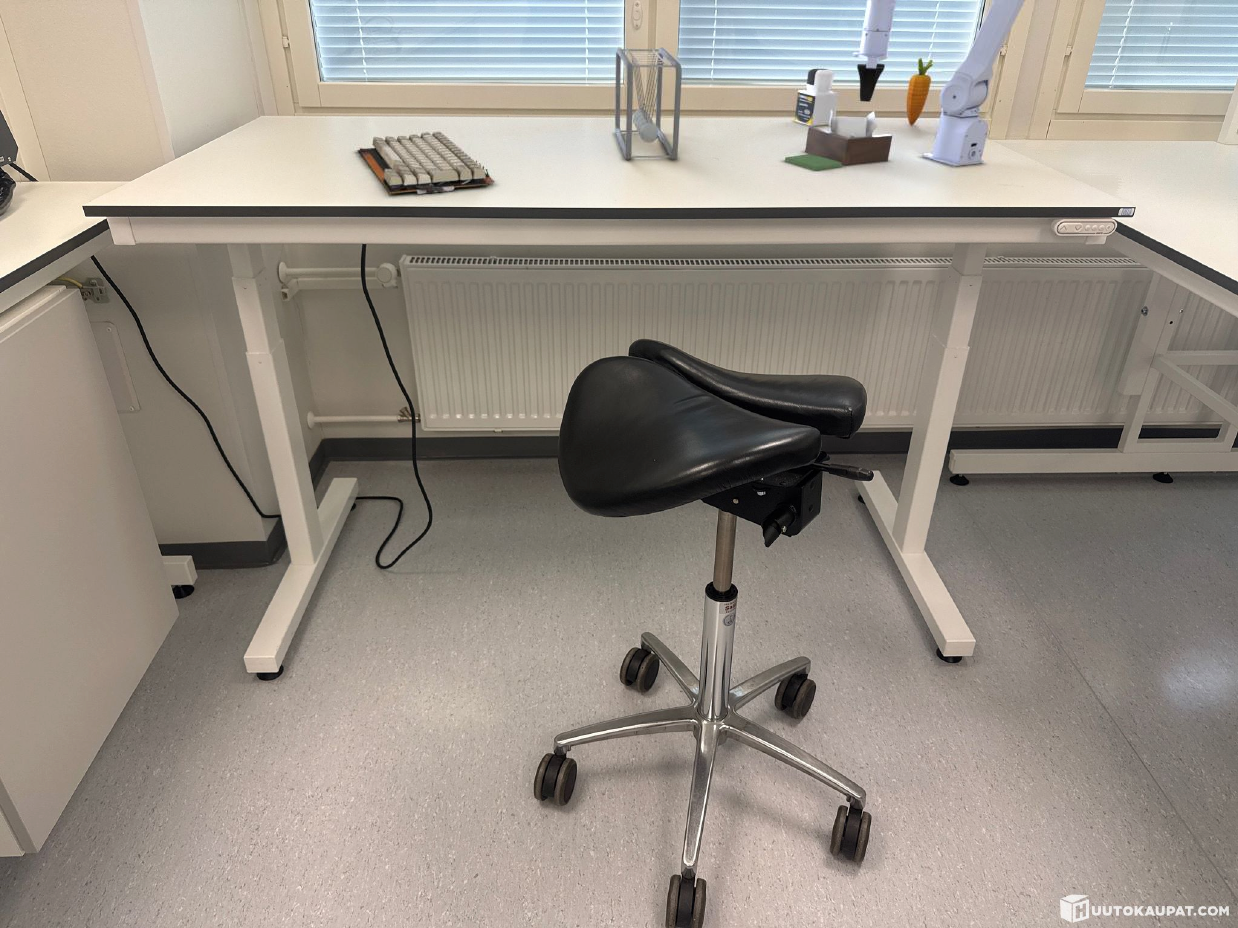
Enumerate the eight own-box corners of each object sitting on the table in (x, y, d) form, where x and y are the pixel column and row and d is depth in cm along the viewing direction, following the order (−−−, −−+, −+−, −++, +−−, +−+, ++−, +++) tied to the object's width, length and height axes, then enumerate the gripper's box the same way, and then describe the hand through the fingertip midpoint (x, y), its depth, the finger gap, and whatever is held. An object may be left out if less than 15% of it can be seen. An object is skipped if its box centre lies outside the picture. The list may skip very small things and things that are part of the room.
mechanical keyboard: (356, 151, 168) (354, 134, 166) (448, 145, 174) (447, 128, 173) (391, 199, 139) (388, 178, 137) (499, 189, 146) (498, 170, 144)
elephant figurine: (863, 149, 177) (870, 105, 172) (873, 162, 167) (881, 116, 162) (818, 148, 177) (824, 104, 173) (826, 160, 167) (832, 114, 162)
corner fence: (887, 161, 168) (892, 135, 165) (843, 165, 164) (847, 139, 161) (847, 148, 178) (851, 123, 175) (804, 152, 174) (808, 127, 171)
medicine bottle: (793, 121, 203) (800, 68, 196) (817, 119, 206) (824, 66, 199) (811, 126, 198) (818, 72, 191) (834, 124, 200) (842, 70, 194)
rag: (841, 166, 163) (842, 162, 163) (815, 171, 160) (816, 166, 160) (809, 157, 170) (810, 153, 169) (784, 161, 166) (784, 157, 166)
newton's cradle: (677, 162, 164) (682, 64, 155) (625, 162, 164) (627, 64, 154) (659, 132, 189) (663, 46, 180) (614, 132, 189) (615, 46, 179)
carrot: (919, 124, 203) (933, 56, 194) (923, 128, 198) (938, 59, 190) (899, 123, 203) (912, 56, 195) (903, 127, 199) (916, 58, 191)
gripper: (857, 26, 176) (847, 95, 184) (856, 33, 165) (845, 105, 172) (891, 28, 175) (879, 96, 182) (892, 34, 163) (879, 107, 170)
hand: (865, 101), depth 177 cm, fingers closed
